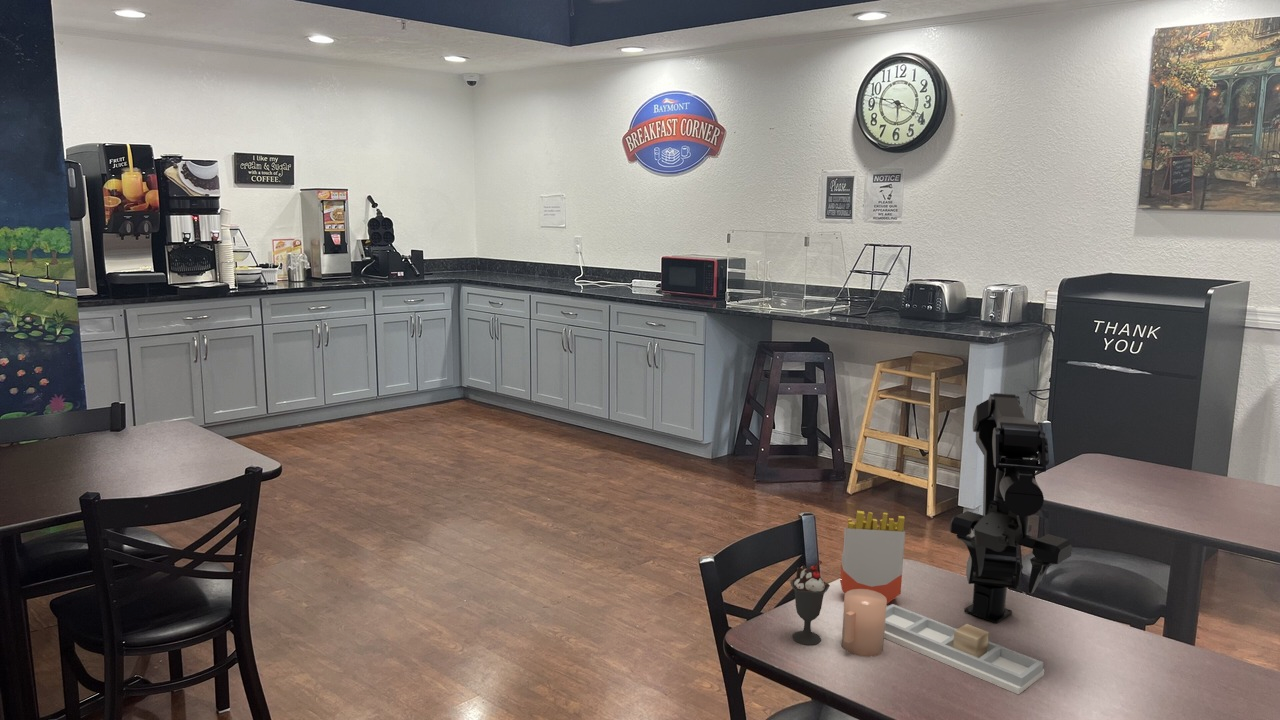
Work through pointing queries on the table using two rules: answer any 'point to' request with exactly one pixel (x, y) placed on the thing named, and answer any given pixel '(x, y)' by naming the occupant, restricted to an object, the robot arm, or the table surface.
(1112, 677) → the table surface
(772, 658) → the table surface
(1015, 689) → the board
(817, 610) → the sundae
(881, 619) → the terracotta mug
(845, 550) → the french fries container
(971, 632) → the beech block
